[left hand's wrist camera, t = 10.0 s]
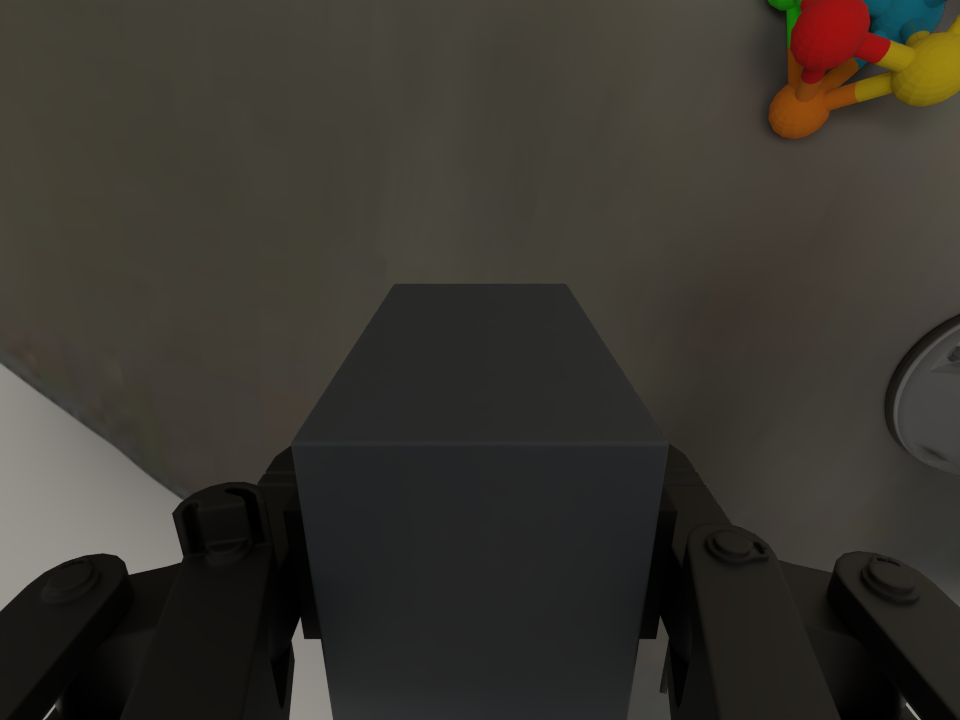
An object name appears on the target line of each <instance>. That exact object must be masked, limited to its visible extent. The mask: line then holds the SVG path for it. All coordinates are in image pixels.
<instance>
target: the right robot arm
mask: <svg viewBox="0 0 960 720" xmlns="http://www.w3.org/2000/svg"><path fill="white" fill-rule="evenodd" d="M885 416H886V422H887V425H888V428H889V431H890V433H891V435H892V437H893V438H894V439H895V441H896V442H897V443H898V444H899V445H900V446H901V447H902V448H903V449H904V450H906V451H907V452H908V453H910V454H911V455H913V456H914V457H916V458H917V459H919V460H920V461H922V462H923V463H926V464H928V465H930V466H932V467H934V468H937V469H939V470H942V471H945V472H949V473H952V474H955V475H959V476H960V315H959V316H957V317H955V318H953V319H951V320H949V321H947V322H946V323H944V324H942V325H940V326H939V327H937V328H936V329H934V330H933V331H932V332H930V333H929V334H928V335H927V336H925V337H924V338H923V339H922V340H921V341H920V342H919V343H917V345H916V346H915V347H914V348H913V349H912V350H911V351H910V352H909V353H908V354H907V356H906V357H905V358H904V360H903V361H902V362H901V364H900V365H899V367H898V369H897V370H896V372H895V374H894V376H893V378H892V380H891V383H890V386H889V388H888V392H887V396H886V402H885Z"/></svg>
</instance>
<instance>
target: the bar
mask: <svg viewBox="0 0 960 720" xmlns="http://www.w3.org/2000/svg"><path fill="white" fill-rule="evenodd" d="M291 447H292V453H293V460H294V466H295V473H296V479H297V486H298V492H299V499H300V506H301V512H302V519H303V525H304V532H305V538H306V545H307V551H308V558H309V565H310V571H311V578H312V584H313V591H314V597H315V604H316V610H317V617H318V624H319V630H320V637H321V643H322V650H323V656H324V663H325V669H326V676H327V682H328V689H329V695H330V702H331V709H332V715H333V720H627V717H628V710H629V703H630V697H631V690H632V684H633V677H634V671H635V664H636V658H637V651H638V644H639V638H640V631H641V625H642V618H643V612H644V605H645V598H646V592H647V585H648V579H649V572H650V566H651V559H652V552H653V546H654V539H655V533H656V526H657V520H658V513H659V506H660V500H661V493H662V487H663V480H664V474H665V467H666V460H667V454H668V447H669V443H668V441H667V440H666V438H665V436H664V435H663V433H662V432H661V430H660V429H659V427H658V426H657V424H656V422H655V421H654V419H653V418H652V416H651V415H650V413H649V412H648V410H647V409H646V407H645V405H644V404H643V402H642V401H641V399H640V398H639V396H638V395H637V393H636V391H635V390H634V388H633V387H632V385H631V384H630V382H629V381H628V379H627V378H626V376H625V374H624V373H623V371H622V370H621V368H620V367H619V365H618V364H617V362H616V360H615V359H614V357H613V356H612V354H611V353H610V351H609V350H608V348H607V346H606V345H605V343H604V342H603V340H602V339H601V337H600V336H599V334H598V333H597V331H596V329H595V328H594V326H593V325H592V323H591V322H590V320H589V319H588V317H587V315H586V314H585V312H584V311H583V309H582V308H581V306H580V305H579V303H578V302H577V300H576V298H575V297H574V295H573V294H572V292H571V291H570V289H569V288H568V286H567V285H566V284H394V285H393V287H392V289H391V290H390V292H389V293H388V295H387V296H386V298H385V299H384V301H383V302H382V304H381V305H380V307H379V309H378V310H377V312H376V313H375V315H374V316H373V318H372V319H371V321H370V322H369V324H368V325H367V327H366V329H365V330H364V332H363V333H362V335H361V336H360V338H359V339H358V341H357V342H356V344H355V346H354V347H353V349H352V350H351V352H350V353H349V355H348V356H347V358H346V359H345V361H344V362H343V364H342V366H341V367H340V369H339V370H338V372H337V373H336V375H335V376H334V378H333V379H332V381H331V383H330V384H329V386H328V387H327V389H326V390H325V392H324V393H323V395H322V396H321V398H320V399H319V401H318V403H317V404H316V406H315V407H314V409H313V410H312V412H311V413H310V415H309V416H308V418H307V420H306V421H305V423H304V424H303V426H302V427H301V429H300V430H299V432H298V433H297V435H296V436H295V438H294V440H293V441H292V444H291Z"/></svg>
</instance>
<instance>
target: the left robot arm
mask: <svg viewBox="0 0 960 720" xmlns="http://www.w3.org/2000/svg"><path fill="white" fill-rule="evenodd" d="M172 515H173V519H174V523H175V526H176V530H177V534H178V538H179V541H180V545H181V549H182V553H183V560H182V562H181V563H177V564H174V565H171V566H167V567H163V568H158V569H154V570H149V571H145V572H140V573H136V574H131V575H129V574H128V571H127V568H126V565H125V562H124V561H122V560H121V559H120V558H119V557H118V556H115V555H110V554H103V553H102V554H94V555H86V556H82V557H79V558H76V559H72V560H69V561H67V562H64V563H62V564H60V565H58V566H56V567H54V568H52V569H50V570H48V571H46V572H44V573H43V574H42V575H41V576H39V577H38V578H37V579H35V580H34V581H33V582H31V583H30V584H29V585H27V586H26V587H25V588H24V589H23V590H22V591H21V592H20V593H19V594H18V595H17V596H16V597H15V598H14V599H13V600H12V601H11V602H10V603H9V604H8V605H7V606H6V607H4V608H3V609H2V610H1V611H0V720H43V718H44V717H45V716H46V715H47V713H48V712H49V711H50V709H51V708H52V707H53V705H54V704H55V706H56V707H55V708H54V710H53V711H52V712H51V714H50V715H49V716H48V717H47V719H45V720H289V715H290V705H291V694H292V684H293V673H294V663H295V659H294V653H293V646H292V641H291V640H292V637H293V635H294V632H295V629H296V627H297V624H298V622H299V619H300V616H301V622H302V628H303V634H304V639H321V637H320V630H319V624H318V617H317V610H316V604H315V597H314V591H313V584H312V578H311V571H310V565H309V558H308V551H307V545H306V538H305V532H304V525H303V519H302V512H301V506H300V499H299V492H298V486H297V479H296V473H295V466H294V460H293V453H292V447H291V446H290V447H288V448H287V449H286V450H284V451H283V452H281V453H280V454H279V455H277V456H276V457H275V458H274V460H273V461H272V463H271V464H270V466H269V467H268V469H267V470H266V474H264V475H263V476H262V478H261V479H260V481H259V482H258V486H257V485H254V484H250V483H246V482H228V483H223V484H219V485H214V486H210V487H208V488H206V489H203V490H201V491H199V492H196V493H194V494H192V495H191V496H190V497H188V498H187V499H185V500H184V501H182V502H181V503H180V504H179V505H178V507H177V508H176V509H175V510H174V512H173V513H172ZM660 615H661V618H662V621H663V623H664V626H665V628H666V631H667V634H668V636H669V641H668V646H667V652H666V657H665V663H664V668H663V674H662V679H661V686H660V692H661V693H667V688H668V693H669V703H670V714H671V720H918V719H917V718H916V717H915V716H914V715H913V714H912V713H911V711H910V710H909V709H908V707H907V706H906V703H907V702H908V704H909V705H910V706H911V708H912V709H913V710H914V711H915V713H916V714H917V715H918V717H919V718H920V719H921V720H960V607H958V606H957V605H956V604H955V603H954V602H953V601H952V600H951V599H950V598H949V597H948V596H947V595H946V594H945V593H944V592H943V591H942V590H941V589H940V588H938V587H937V586H936V585H935V584H934V583H933V582H932V581H930V580H929V579H928V578H926V577H925V576H924V575H922V574H921V573H920V572H919V571H917V570H915V569H913V568H911V567H910V566H908V565H906V564H904V563H902V562H900V561H898V560H895V559H892V558H890V557H886V556H883V555H880V554H877V553H869V552H860V551H857V552H851V553H845V554H843V555H842V556H841V557H840V558H838V559H837V560H836V563H835V566H834V569H833V573H830V572H826V571H821V570H817V569H812V568H808V567H803V566H799V565H794V564H791V563H787V562H784V561H780V560H778V559H777V556H776V555H775V553H774V552H773V550H772V549H771V548H770V546H769V545H768V544H767V543H766V542H764V541H763V540H762V539H761V538H759V537H758V536H757V535H755V534H753V533H751V532H749V531H747V530H745V529H743V528H741V527H738V526H734V525H732V524H731V522H730V521H729V520H728V518H727V517H726V515H725V514H724V512H723V511H722V509H721V508H720V506H719V505H718V503H717V502H716V500H715V499H714V497H713V496H712V494H711V493H710V491H709V490H708V488H707V487H706V485H703V481H702V479H701V478H700V476H699V475H698V473H695V469H694V467H693V466H692V464H691V463H690V461H689V460H688V458H687V457H686V455H684V454H683V453H682V452H680V451H679V450H677V449H676V448H675V447H673V446H672V445H670V444H669V447H668V454H667V460H666V467H665V474H664V480H663V487H662V493H661V500H660V506H659V513H658V520H657V526H656V533H655V539H654V546H653V552H652V559H651V566H650V572H649V579H648V585H647V592H646V598H645V605H644V612H643V618H642V625H641V631H640V638H639V639H656V636H657V630H658V624H659V618H660Z"/></svg>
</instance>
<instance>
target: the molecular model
mask: <svg viewBox="0 0 960 720" xmlns="http://www.w3.org/2000/svg"><path fill="white" fill-rule="evenodd" d="M945 1H946V0H768V2H769V4H770V5H772V6H773V7H775V8H777V9H778V10H780V11H786V18H787V57H788V84H787V85H786V86H784V87H783V88H782V89H781V90H780V91H779V92H778V93H777V94H776V95H775V97H774V99H773V101H772V102H771V104H770V106H769V118H768V120H769V122H770V124H771V127H772V129H773V131H774V132H776V133H777V134H779V135H780V136H782V137H785V138H791V139H797V138H801V137H806V136H808V135H810V134H811V133H813V132H815V131H816V130H818V129H819V128H820V127H821V126H822V125H823V123H824V122H825V121H826V120H827V119H828V116H829V113H830V110H834V109H837V108H841V107H844V106H848V105H851V104H855V103H858V102H862V101H866V100H869V99H873V98H876V97H880V96H883V95H887V94H891V93H894V95H895V96H896V98H897V99H899V100H900V101H902V102H904V103H905V104H907V105H911V106H920V107H924V106H928V105H932V104H937V103H940V102H942V101H944V100H946V99H947V98H949V97H951V96H953V95H954V94H956V93H957V92H958V91H959V90H960V14H959V15H958V17H957V18H956V19H955V21H954V22H953V23H952V25H951V26H950V27H949V29H948V30H947V31H946V32H940V33H933V34H930V33H931V32H932V31H933V30H934V28H935V27H936V26H937V25H938V23H939V22H940V20H941V17H942V14H943V11H944V7H945ZM870 17H872V18H871V28H870V32H871V33H870V32H868V29H869V26H870ZM867 62H870V63H872V64H875V65H878V66H881V67H883V68H886V69H889V70H892V71H889V72H886V73H883V74H880V75H877V76H873V77H870V78H867V79H864V80H860V81H857V82H854V83H851V84H848V85H844V86H841V85H842V84H843V83H844V82H845V81H847V80H848V79H849V78H850V77H851V76H852V75H854V74H855V73H856V72H857V71H858V70H859V69H860V68H862V67H863V66H864V65H865V64H866V63H867ZM831 68H832V69H831ZM828 69H831V70H830V71H829V72H828V73H826V74H825V71H826V70H828ZM824 74H825V75H824ZM840 86H841V87H840Z"/></svg>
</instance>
